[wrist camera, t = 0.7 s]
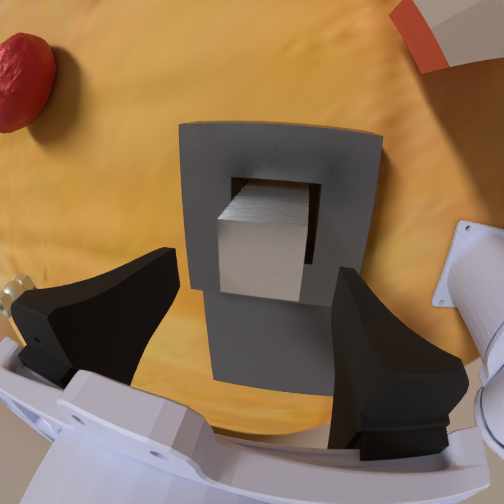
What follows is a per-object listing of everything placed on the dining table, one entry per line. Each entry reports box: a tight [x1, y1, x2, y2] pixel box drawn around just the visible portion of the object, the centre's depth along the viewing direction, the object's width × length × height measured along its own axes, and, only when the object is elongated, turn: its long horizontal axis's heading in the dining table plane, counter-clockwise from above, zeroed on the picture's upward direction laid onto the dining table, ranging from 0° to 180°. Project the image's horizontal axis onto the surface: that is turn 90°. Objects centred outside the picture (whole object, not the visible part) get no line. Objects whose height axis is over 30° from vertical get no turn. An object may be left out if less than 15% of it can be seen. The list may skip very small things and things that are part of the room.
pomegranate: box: [0, 33, 56, 133], centre depth 14 cm, size 10×10×9 cm
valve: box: [0, 273, 35, 318], centre depth 31 cm, size 7×7×12 cm
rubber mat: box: [203, 291, 335, 396], centre depth 26 cm, size 14×14×1 cm
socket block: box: [179, 121, 383, 307], centre depth 19 cm, size 12×12×3 cm
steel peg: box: [217, 178, 309, 302], centre depth 17 cm, size 4×4×8 cm
